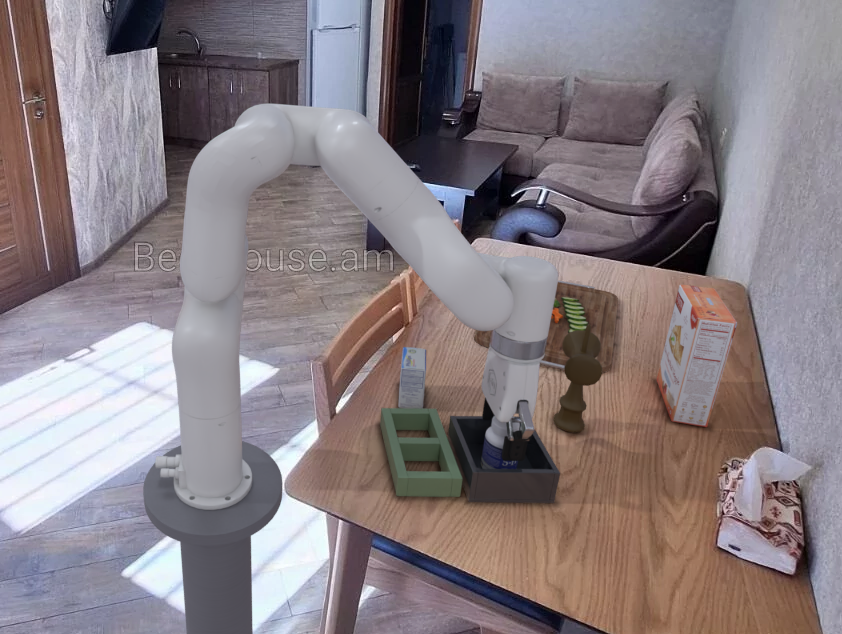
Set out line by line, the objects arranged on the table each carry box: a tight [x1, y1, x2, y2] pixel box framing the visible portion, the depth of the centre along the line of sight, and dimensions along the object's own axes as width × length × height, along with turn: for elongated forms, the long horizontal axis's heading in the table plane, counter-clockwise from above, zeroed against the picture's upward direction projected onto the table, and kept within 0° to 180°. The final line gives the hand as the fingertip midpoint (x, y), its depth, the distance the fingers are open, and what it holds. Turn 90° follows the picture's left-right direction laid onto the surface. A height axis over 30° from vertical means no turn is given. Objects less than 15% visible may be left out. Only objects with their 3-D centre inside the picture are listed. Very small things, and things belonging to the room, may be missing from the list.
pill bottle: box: [481, 416, 520, 469], centre depth 100 cm, size 5×5×9 cm
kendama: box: [552, 324, 603, 434], centre depth 109 cm, size 6×10×20 cm, turn 157°
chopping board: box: [473, 279, 619, 374], centre depth 149 cm, size 45×27×3 cm, turn 151°
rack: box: [379, 407, 463, 498], centre depth 104 cm, size 10×18×4 cm, turn 179°
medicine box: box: [397, 346, 427, 409], centre depth 119 cm, size 8×4×9 cm, turn 167°
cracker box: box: [656, 284, 738, 428], centre depth 115 cm, size 14×6×21 cm, turn 160°
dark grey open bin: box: [447, 415, 561, 504], centre depth 101 cm, size 13×14×6 cm
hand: (501, 438), depth 100 cm, fingers open, 9 cm apart
